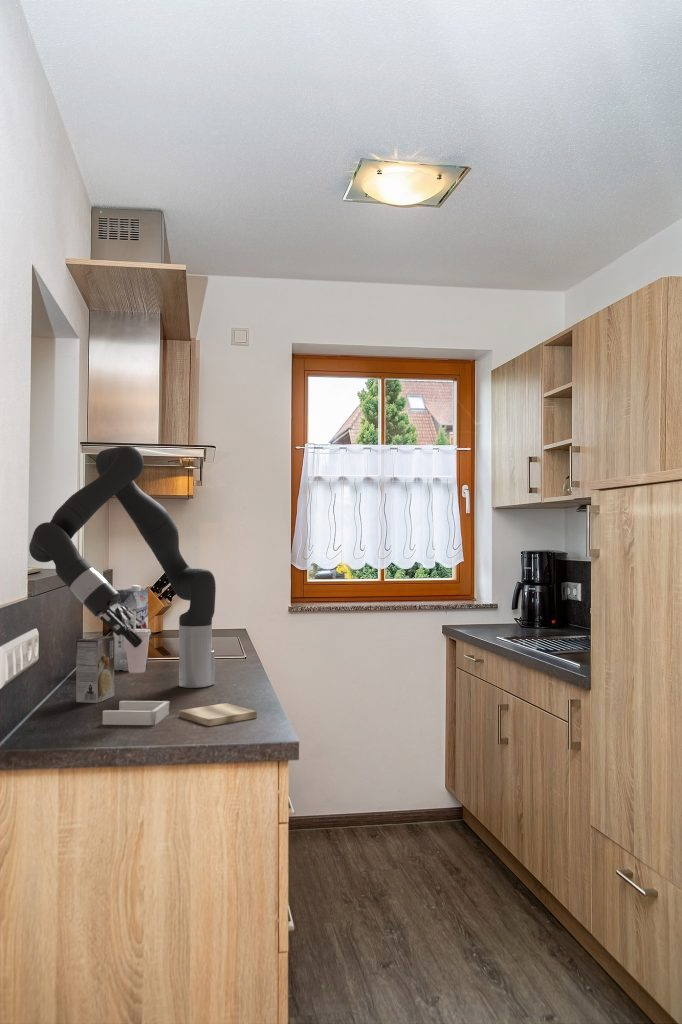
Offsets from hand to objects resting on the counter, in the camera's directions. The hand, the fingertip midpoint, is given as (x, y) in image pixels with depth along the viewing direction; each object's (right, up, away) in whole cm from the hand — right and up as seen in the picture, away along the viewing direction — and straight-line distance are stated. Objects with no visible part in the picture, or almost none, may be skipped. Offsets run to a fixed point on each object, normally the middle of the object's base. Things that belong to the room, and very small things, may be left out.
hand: (144, 642), depth 192 cm
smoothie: (-2, -7, 0) cm, 7 cm away
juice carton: (-22, -20, +73) cm, 79 cm away
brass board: (+17, -18, +1) cm, 25 cm away
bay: (-1, -18, -1) cm, 18 cm away
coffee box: (-18, -19, +23) cm, 35 cm away
